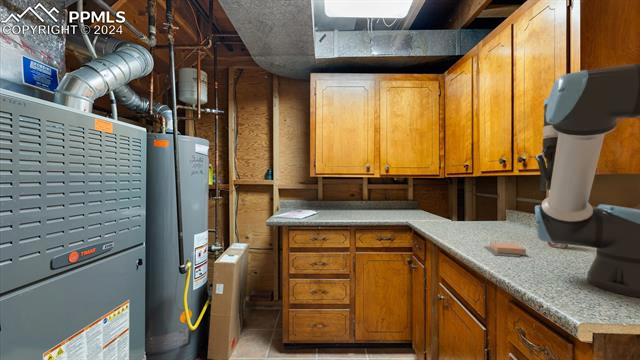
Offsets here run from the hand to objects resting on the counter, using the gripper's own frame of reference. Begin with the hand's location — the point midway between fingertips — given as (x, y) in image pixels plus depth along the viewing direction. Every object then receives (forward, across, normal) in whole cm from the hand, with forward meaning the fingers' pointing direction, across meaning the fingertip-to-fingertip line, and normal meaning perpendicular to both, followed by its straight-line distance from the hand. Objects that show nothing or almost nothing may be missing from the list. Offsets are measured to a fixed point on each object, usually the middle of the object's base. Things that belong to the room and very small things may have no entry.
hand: (553, 198), depth 105 cm
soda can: (+23, -14, -18) cm, 32 cm away
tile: (+21, +8, -4) cm, 23 cm away
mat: (+23, +15, -5) cm, 28 cm away
